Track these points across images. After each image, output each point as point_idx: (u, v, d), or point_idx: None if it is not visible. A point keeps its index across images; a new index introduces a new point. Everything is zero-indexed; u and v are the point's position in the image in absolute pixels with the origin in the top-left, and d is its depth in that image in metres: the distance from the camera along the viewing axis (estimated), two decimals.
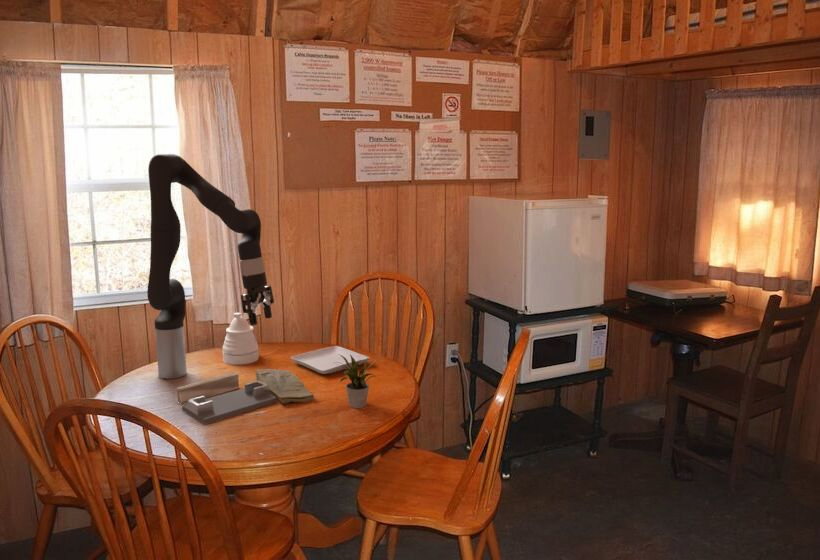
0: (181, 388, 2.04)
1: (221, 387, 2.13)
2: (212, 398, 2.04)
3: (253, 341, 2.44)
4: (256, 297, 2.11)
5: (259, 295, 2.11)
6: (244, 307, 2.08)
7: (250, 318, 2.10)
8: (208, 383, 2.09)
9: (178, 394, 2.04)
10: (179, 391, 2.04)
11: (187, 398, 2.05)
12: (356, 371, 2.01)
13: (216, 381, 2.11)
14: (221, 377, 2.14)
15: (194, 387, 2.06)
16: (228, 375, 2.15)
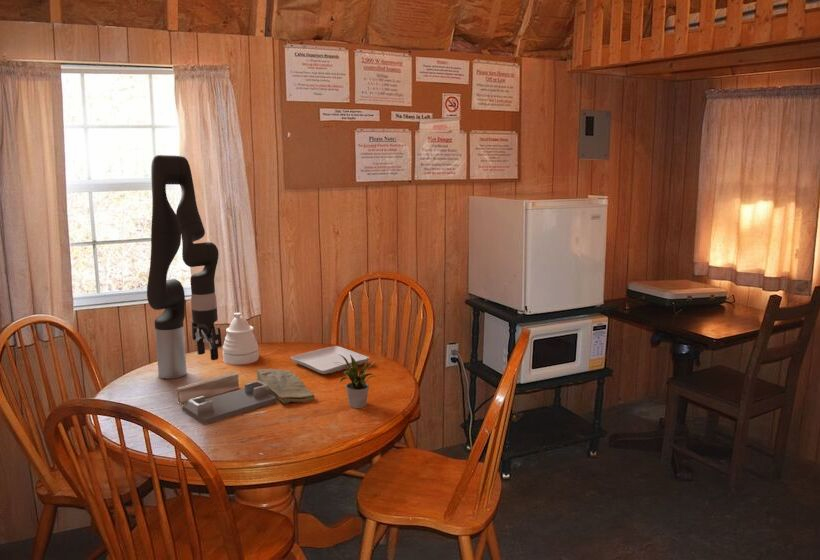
0: (181, 388, 2.04)
1: (221, 387, 2.13)
2: (212, 398, 2.04)
3: (253, 341, 2.44)
4: None
5: (197, 330, 2.07)
6: None
7: None
8: (208, 383, 2.09)
9: (178, 394, 2.04)
10: (179, 391, 2.03)
11: (187, 398, 2.05)
12: (356, 371, 2.01)
13: (216, 381, 2.11)
14: (221, 377, 2.14)
15: (194, 387, 2.06)
16: (228, 375, 2.16)
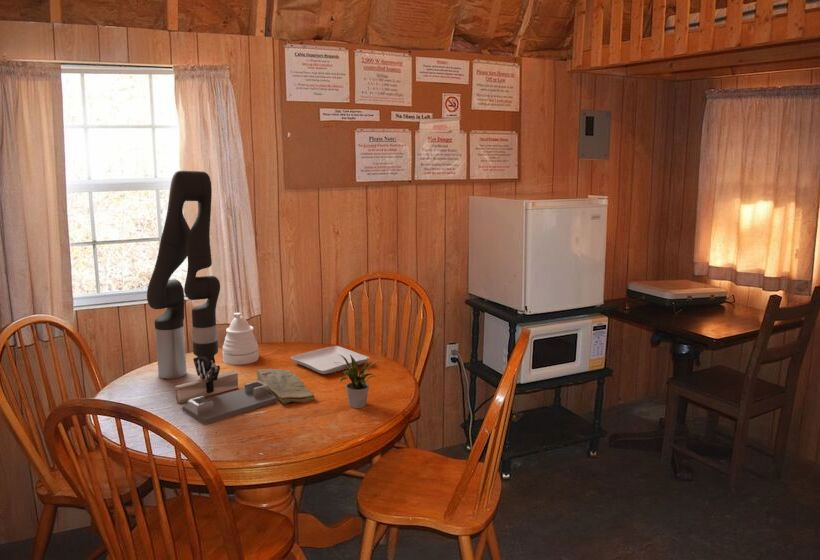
0: (179, 386, 2.04)
1: (220, 385, 2.13)
2: (212, 398, 2.04)
3: (253, 341, 2.44)
4: None
5: (198, 362, 2.09)
6: None
7: None
8: None
9: (176, 392, 2.04)
10: (177, 389, 2.04)
11: (185, 396, 2.05)
12: (356, 371, 2.01)
13: None
14: (220, 376, 2.13)
15: (192, 385, 2.06)
16: (227, 374, 2.15)
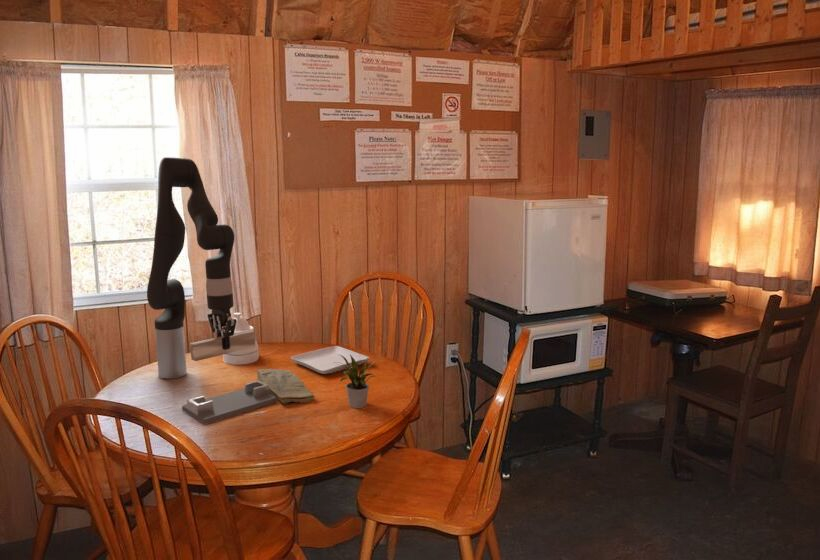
0: (194, 343, 1.93)
1: (236, 344, 2.02)
2: (212, 398, 2.04)
3: None
4: None
5: (213, 317, 1.98)
6: None
7: None
8: None
9: (191, 350, 1.94)
10: (192, 346, 1.93)
11: (201, 354, 1.94)
12: (356, 371, 2.01)
13: (231, 337, 2.01)
14: (236, 334, 2.03)
15: (208, 343, 1.95)
16: (244, 332, 2.05)
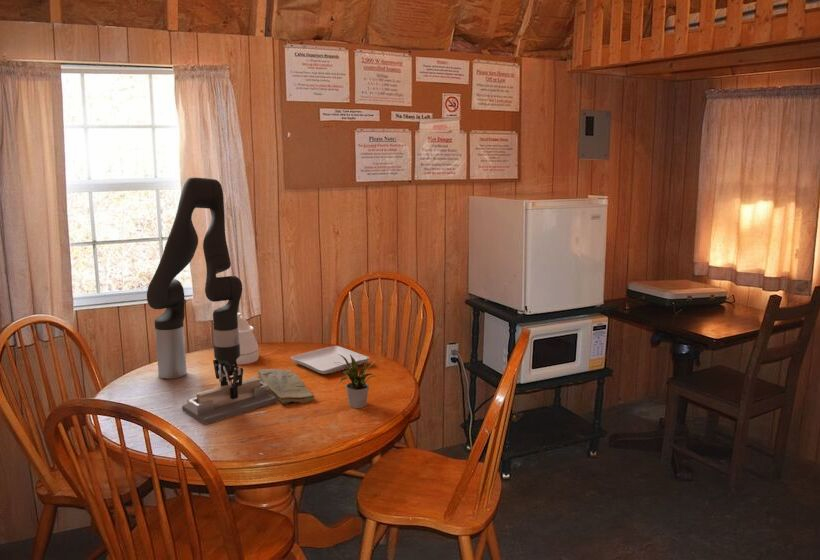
0: (201, 394, 1.95)
1: (242, 392, 2.03)
2: None
3: (253, 341, 2.44)
4: None
5: (219, 366, 1.99)
6: None
7: None
8: (229, 388, 2.00)
9: (197, 400, 1.95)
10: (199, 397, 1.94)
11: None
12: (356, 371, 2.01)
13: None
14: (242, 382, 2.04)
15: (214, 393, 1.97)
16: (249, 380, 2.06)
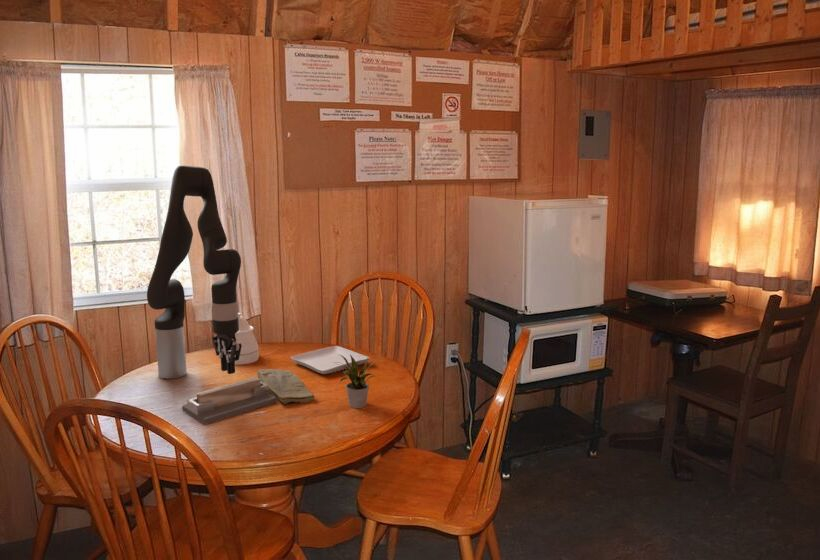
0: (201, 394, 1.95)
1: (242, 392, 2.03)
2: None
3: (253, 341, 2.44)
4: None
5: (218, 341, 1.98)
6: None
7: None
8: (229, 388, 2.00)
9: (197, 400, 1.95)
10: (199, 397, 1.94)
11: None
12: (356, 371, 2.01)
13: (237, 386, 2.02)
14: (242, 382, 2.04)
15: (214, 393, 1.97)
16: (249, 380, 2.06)
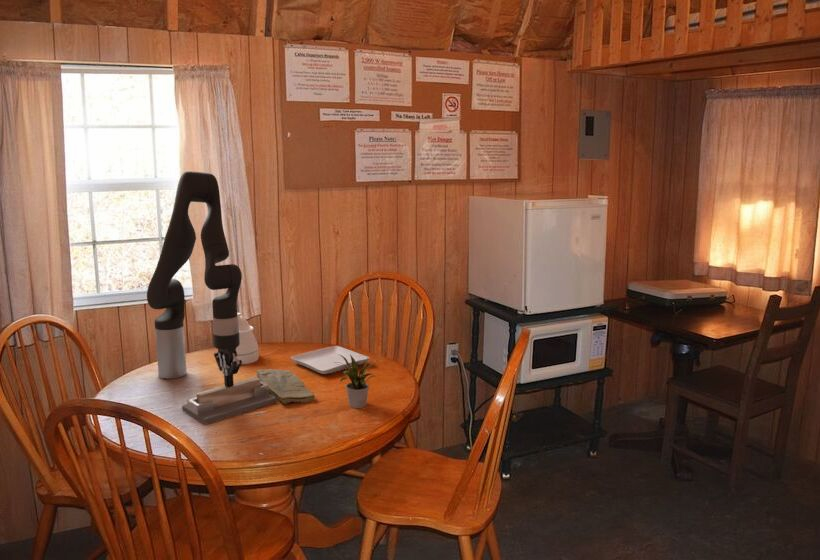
0: (201, 394, 1.95)
1: (242, 392, 2.03)
2: None
3: (253, 341, 2.44)
4: None
5: (219, 355, 1.99)
6: None
7: None
8: (229, 388, 2.00)
9: (197, 400, 1.95)
10: (199, 397, 1.94)
11: None
12: (356, 371, 2.01)
13: (237, 386, 2.02)
14: (242, 382, 2.04)
15: (214, 393, 1.97)
16: (249, 380, 2.06)
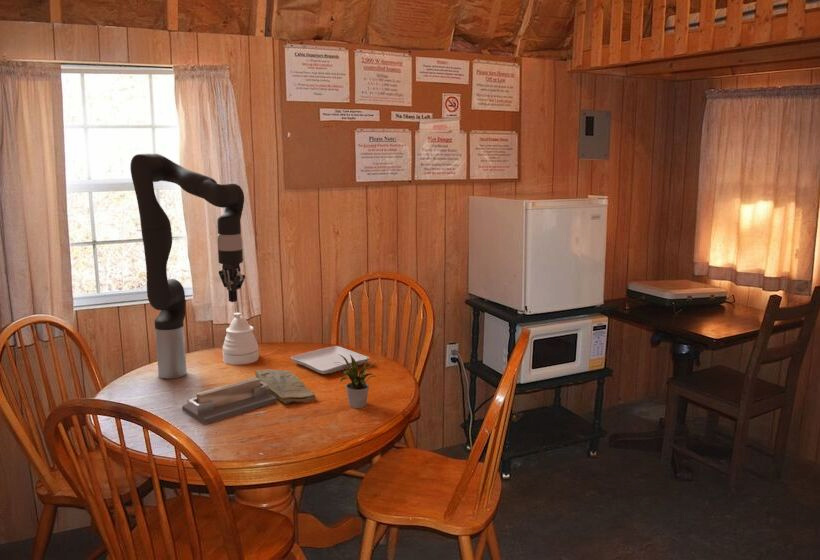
0: (201, 394, 1.95)
1: (242, 392, 2.03)
2: None
3: (253, 341, 2.44)
4: None
5: (223, 271, 2.10)
6: None
7: None
8: (229, 388, 2.00)
9: (197, 400, 1.95)
10: (199, 397, 1.94)
11: None
12: (356, 371, 2.01)
13: (237, 386, 2.02)
14: (242, 382, 2.04)
15: (214, 393, 1.97)
16: (249, 380, 2.06)
